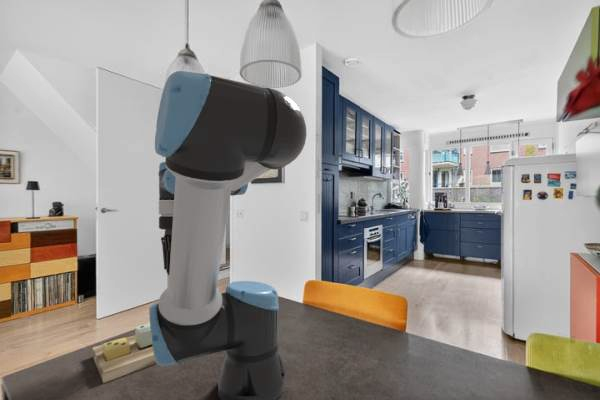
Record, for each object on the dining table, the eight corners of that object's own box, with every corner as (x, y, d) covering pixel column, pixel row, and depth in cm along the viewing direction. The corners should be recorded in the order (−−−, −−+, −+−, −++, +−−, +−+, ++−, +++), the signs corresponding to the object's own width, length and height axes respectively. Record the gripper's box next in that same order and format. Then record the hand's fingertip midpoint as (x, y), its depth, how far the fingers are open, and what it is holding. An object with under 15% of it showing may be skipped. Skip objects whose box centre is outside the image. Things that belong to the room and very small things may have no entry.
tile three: (129, 359, 74) (129, 343, 74) (106, 367, 71) (106, 350, 71) (125, 351, 78) (125, 336, 78) (103, 358, 74) (103, 343, 74)
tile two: (160, 341, 79) (160, 326, 79) (140, 347, 76) (140, 332, 76) (154, 335, 83) (154, 321, 83) (135, 341, 80) (135, 326, 80)
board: (199, 347, 82) (199, 338, 82) (103, 383, 66) (103, 372, 66) (179, 329, 93) (179, 322, 93) (92, 356, 77) (92, 347, 77)
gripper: (195, 215, 82) (195, 297, 82) (177, 213, 91) (177, 287, 91) (168, 216, 77) (168, 304, 77) (151, 214, 86) (151, 293, 86)
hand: (173, 295), depth 84 cm, fingers closed
